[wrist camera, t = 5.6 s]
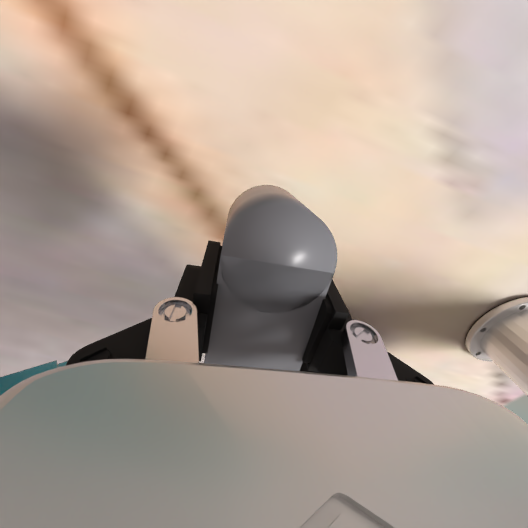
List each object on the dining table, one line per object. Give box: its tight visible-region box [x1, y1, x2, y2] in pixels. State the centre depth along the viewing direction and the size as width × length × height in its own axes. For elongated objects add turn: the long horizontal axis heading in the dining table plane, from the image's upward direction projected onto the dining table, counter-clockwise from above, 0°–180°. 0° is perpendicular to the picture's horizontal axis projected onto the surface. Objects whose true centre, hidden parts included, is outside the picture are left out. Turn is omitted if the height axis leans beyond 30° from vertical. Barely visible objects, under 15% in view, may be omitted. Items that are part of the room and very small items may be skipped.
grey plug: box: [204, 185, 337, 371], centre depth 12 cm, size 11×4×5 cm, turn 167°
